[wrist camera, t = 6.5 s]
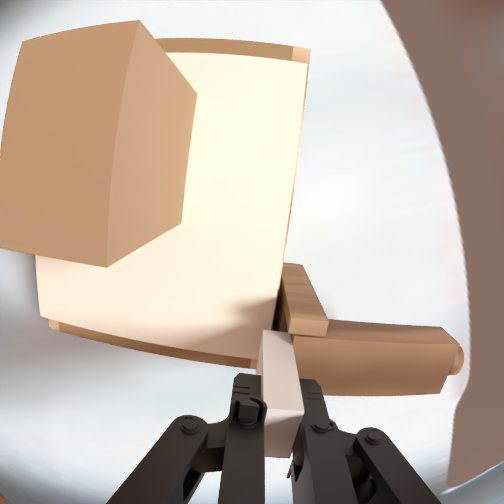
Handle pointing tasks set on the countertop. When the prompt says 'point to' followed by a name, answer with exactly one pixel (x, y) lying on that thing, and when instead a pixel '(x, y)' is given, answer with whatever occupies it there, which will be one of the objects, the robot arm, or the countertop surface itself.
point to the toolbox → (291, 275)
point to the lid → (151, 185)
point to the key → (378, 359)
